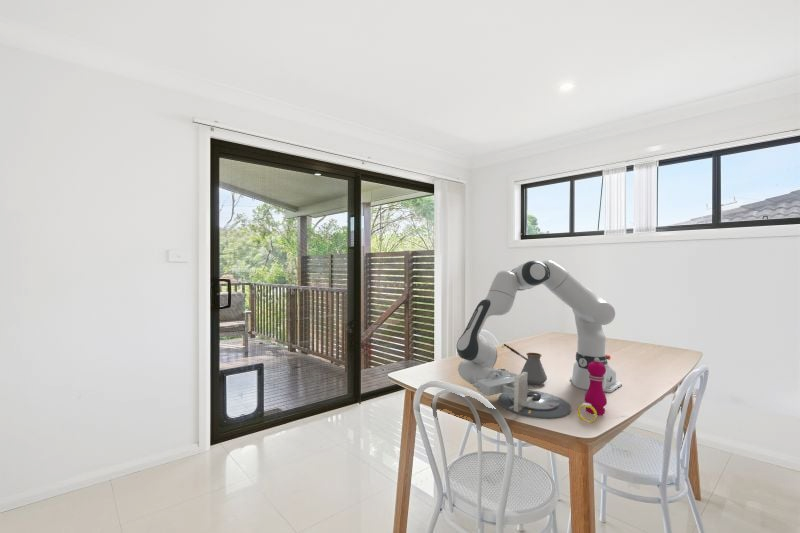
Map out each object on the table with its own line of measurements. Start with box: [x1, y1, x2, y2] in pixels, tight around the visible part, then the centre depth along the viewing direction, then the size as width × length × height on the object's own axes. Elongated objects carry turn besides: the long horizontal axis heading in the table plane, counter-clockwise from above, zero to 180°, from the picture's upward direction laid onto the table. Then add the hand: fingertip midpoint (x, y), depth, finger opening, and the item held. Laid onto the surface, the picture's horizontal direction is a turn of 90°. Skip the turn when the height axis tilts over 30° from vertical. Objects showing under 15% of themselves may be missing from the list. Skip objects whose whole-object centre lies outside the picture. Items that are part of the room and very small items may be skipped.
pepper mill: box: [584, 358, 608, 416], centre depth 139 cm, size 7×7×20 cm
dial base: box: [498, 392, 572, 420], centre depth 145 cm, size 26×26×1 cm
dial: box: [509, 372, 559, 412], centre depth 142 cm, size 26×18×13 cm
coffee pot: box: [501, 343, 548, 386], centre depth 174 cm, size 21×12×15 cm, turn 45°
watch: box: [577, 402, 598, 423], centre depth 131 cm, size 6×3×6 cm, turn 46°
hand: (517, 391), depth 137 cm, fingers closed
